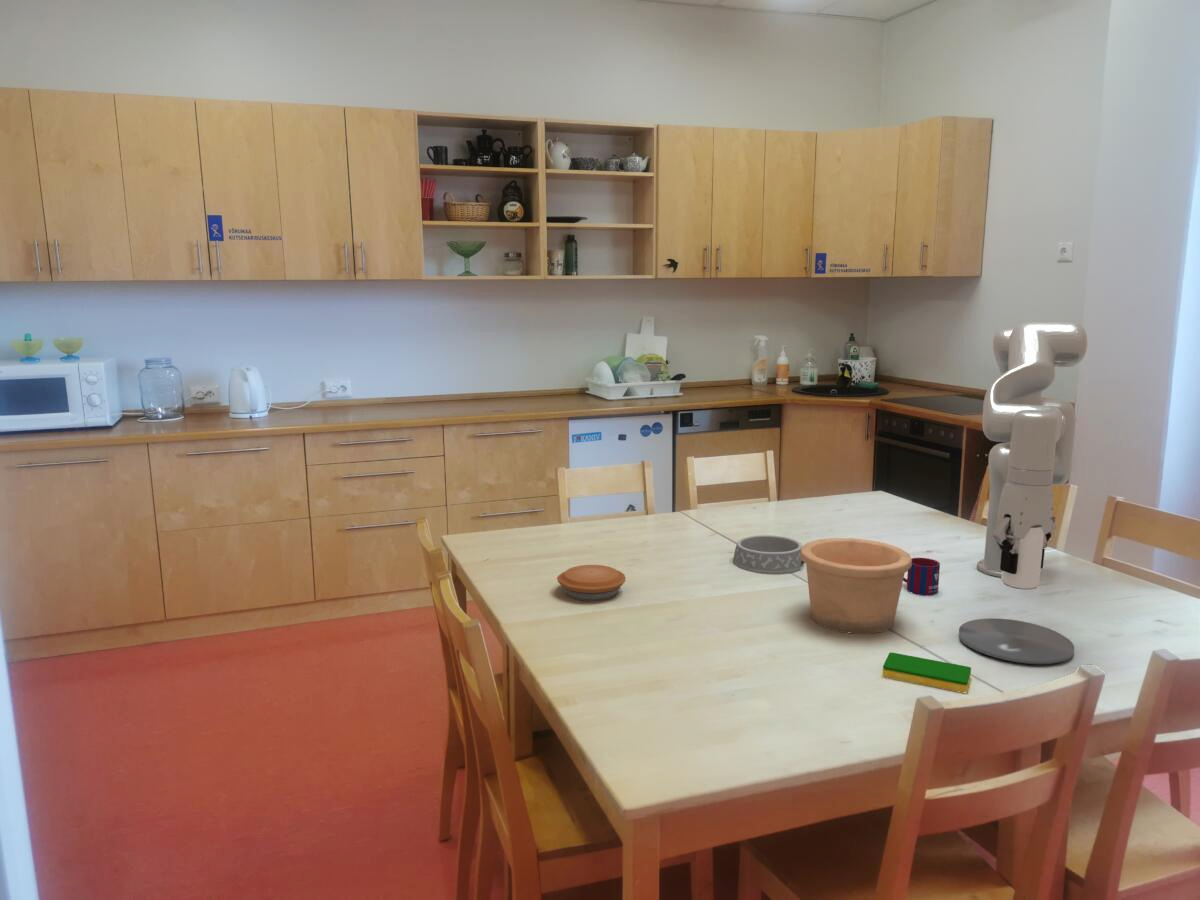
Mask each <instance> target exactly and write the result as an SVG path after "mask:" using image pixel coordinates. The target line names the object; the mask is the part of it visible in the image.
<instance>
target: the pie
mask: <svg viewBox="0 0 1200 900" xmlns="http://www.w3.org/2000/svg"><path fill="white" fill-rule="evenodd" d="M556 580H557V582H558V584H560V586H561V587H562V588H563V590H564V591H565V593H566V594H567V595H568V596H569V597H571V598H573V599H575V600H579V601H585V602H586V601H587V602H596V601H603V600H604V601H605V600H608V599H611V598H614V597H615V596H616V595H617V593H618V592H619V590H620V589H621V587H622V586H623V584H625V582H626V575H625V573H623V572H622V571H620V570H617V569H616V568H613V567H611V566H607V565H602V564H600V565H599V564H585V565H578V566H573V567H570V568H568V569H566V570H565V571H563V572H562V573H560V574H559V575H557V577H556Z"/></svg>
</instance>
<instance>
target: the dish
mask: <svg viewBox="0 0 1200 900" xmlns="http://www.w3.org/2000/svg"><path fill="white" fill-rule="evenodd" d="M958 637H959V639H960V641H962V643H963V644H965V645H966V646H967V647H969V648H971V649H973V650H975V651H977V652H979V653H982V654H984V655H987V656H989V657H993V658H996V659H1001V660H1005V661H1009V662H1015V663H1020V664H1021V663H1023V664H1033V665H1046V664H1047V665H1050V664H1057V663H1062V662H1065V661H1067V660H1069V659H1071V658H1072V657H1073V656H1074V653H1075V646H1074V644H1073V642H1072V641H1071V640H1070V638H1068V637H1067V636H1065V635H1064V634H1061V633H1059V632H1057V631H1055V630H1053V629H1050V628H1049V627H1046V626H1042V625H1039V624H1035V623H1032V622H1026V621H1023V620H1022V621H1021V620H1015V619H1010V618H1009V619H1008V618H1007V619H1006V618H992V617H991V618H979V619H978V618H976V619H972V620H969V621H966V622H963V623H962V624H961V625H959V628H958Z"/></svg>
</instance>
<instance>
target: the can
mask: <svg viewBox="0 0 1200 900" xmlns="http://www.w3.org/2000/svg"><path fill="white" fill-rule="evenodd" d="M1030 528H1031V529H1030V530H1029V532H1028V533H1027V534H1026V536H1025V538H1023V539H1020V542H1019V545H1018V548H1017V550H1016V553H1018V563H1017V572H1016V574H1011V573H1008V572H1005V571H1002V577H1000V578H1001V582H1002V584H1003V585H1005V586H1006V587H1009V588H1012V589H1018V590H1026V591H1027V590H1029V591H1031V590H1035V589H1037V588H1038V587H1039V586H1040V578H1041V570H1042V569H1041V560H1042V549H1043V539H1044V532H1043V530H1042V525H1041V526H1040V527H1030ZM1009 535H1012V536H1013V532H1012V531H1009ZM1009 542H1010V544H1011V545H1012V542H1013V539H1010V538H1009Z"/></svg>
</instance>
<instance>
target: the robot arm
mask: <svg viewBox="0 0 1200 900" xmlns="http://www.w3.org/2000/svg"><path fill="white" fill-rule="evenodd" d="M1087 347H1088V336H1087V333H1086V330H1085V328H1084V327H1083V325H1082V324H1080V323H1078V322H1074V321H1027V322H1022V323H1020V324H1018V325H1016V326H1015V327H1007V328H1003V329H1000V330H998V331H997V332H996V333H995V334H994V336H993V340H992V350H993V354H994V358H995V360H996V363H997V366H998V369H999V372H1000V376H998V377H997V378H995V380H994V381H993V382H992V383H991V384H990V385H989V387H988V388H987V390H986V392H985V395H984V399H983V403H982V404H983V405H982V421H981V422H982V431H983V434H984V436H985V438H987V439H988V440H990V441H991V442H997V443H996V444H995V445H993V446H992V448H991V449H990V451H989V453H988V474H989V493H988V494H989V496H988V497H989V498H988V512H987V522H986V534H985V546H984V559H980V560H978V561H977V562H976V568H977V570H979V572H982V573H984V574H986V575H990V576H994V577H998V578H1001V577H1002V571H1005V572H1008V573H1011V574H1016V572H1017V563H1018V553H1016V550H1017V548H1018V545H1019V542H1020V539H1023V538H1025V536H1026V534H1027V533H1028V532H1029V530H1030V529H1031V528H1030V527H1040V526H1041V525H1042V530H1043V532H1044V539H1043V549H1042V560H1041V570H1042V569H1044V561H1045V550H1046V549H1047V547H1048V541H1049V540H1050V538H1051V537H1052V534H1053V533H1054V531H1055V530H1056V528H1057V525H1056V523H1055V522H1054V521H1053V517H1054V489H1053V486H1055V487H1056V486H1057V487H1058V486H1063V485H1065V484H1066V483H1068V481H1069V478H1070V475H1071V469H1072V462H1073V452H1074V442H1075V432H1076V410H1075V407H1074V405H1073V404H1072V403H1071V402H1069V401H1067V400H1064V399H1058V398H1057V399H1056V398H1055V399H1054V398H1052V399H1051V398H1043V397H1042V392H1043V391H1045V390H1047V389H1048V388H1049V387H1050V386H1051V385H1052V384H1053V382H1054V381H1055V378H1056V377H1055V376H1056V371H1055V369H1056V368H1055V367H1058V368H1070V367H1074V366H1076V365H1078V364H1080V363H1081V362H1082V361H1083V359H1084V358H1085V355H1086V352H1087ZM1009 531H1012V532H1013V536H1012V535H1009ZM1009 538H1010V539H1013V542H1012V545H1011V544H1010V542H1009Z"/></svg>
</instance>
